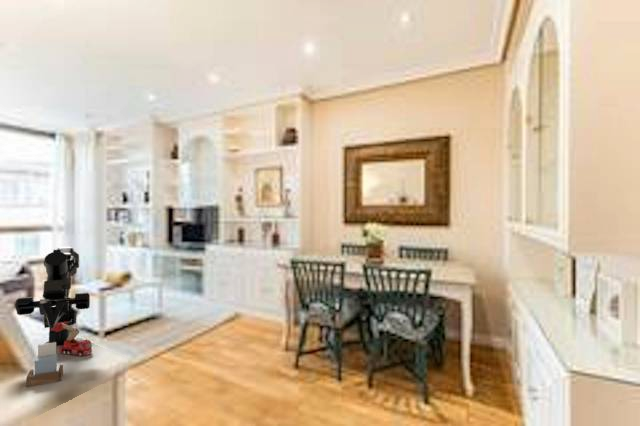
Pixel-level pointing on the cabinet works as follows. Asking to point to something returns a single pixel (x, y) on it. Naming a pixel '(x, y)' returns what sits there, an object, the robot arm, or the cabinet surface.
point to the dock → (43, 377)
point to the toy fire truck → (73, 341)
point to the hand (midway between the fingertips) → (51, 327)
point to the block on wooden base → (46, 358)
